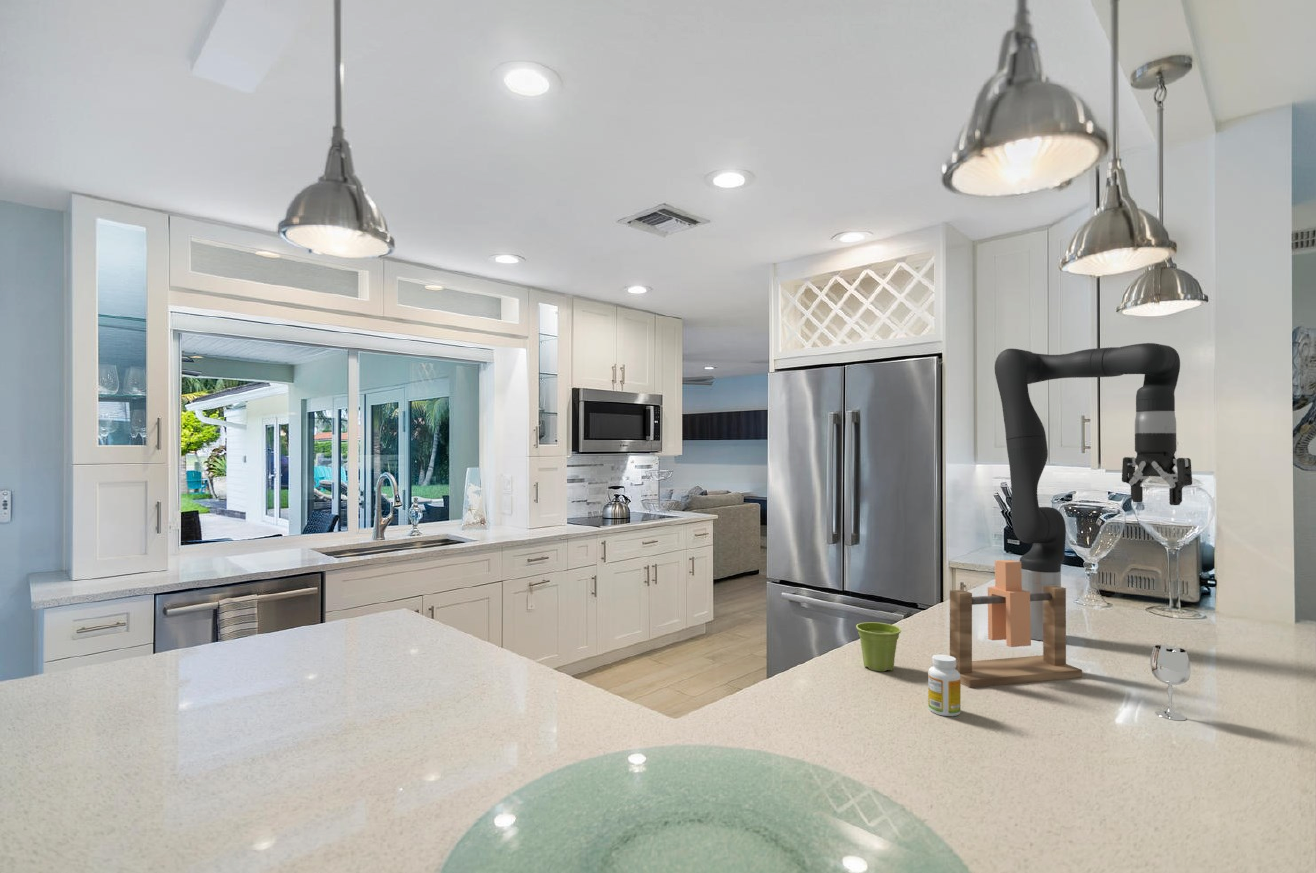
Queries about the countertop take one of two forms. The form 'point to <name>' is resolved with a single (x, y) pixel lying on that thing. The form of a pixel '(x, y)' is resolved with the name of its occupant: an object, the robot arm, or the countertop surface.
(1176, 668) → the wineglass
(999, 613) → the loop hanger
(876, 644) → the plant pot
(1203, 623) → the countertop surface
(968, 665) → the hook stand
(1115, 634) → the countertop surface
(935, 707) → the supplement bottle
